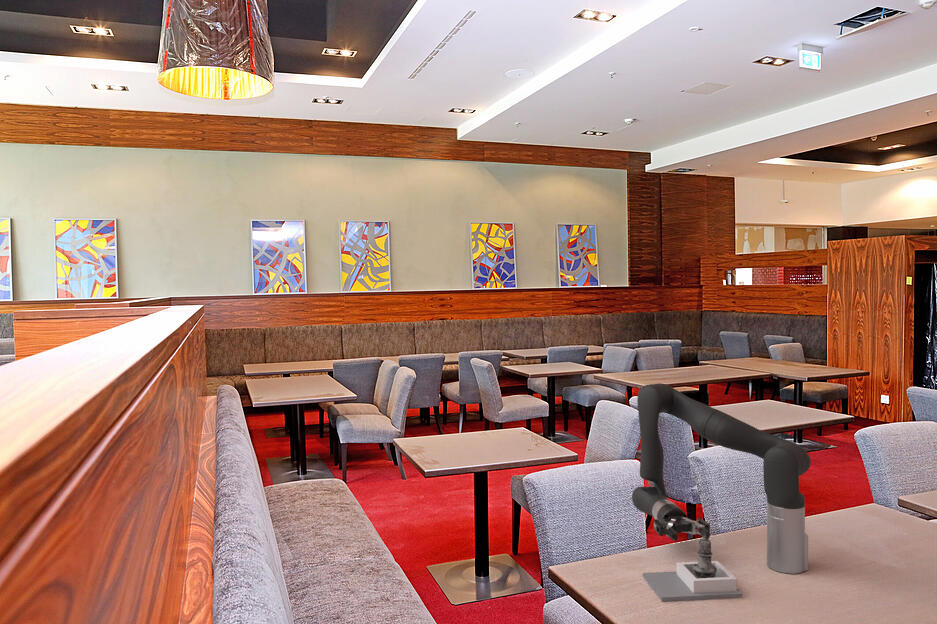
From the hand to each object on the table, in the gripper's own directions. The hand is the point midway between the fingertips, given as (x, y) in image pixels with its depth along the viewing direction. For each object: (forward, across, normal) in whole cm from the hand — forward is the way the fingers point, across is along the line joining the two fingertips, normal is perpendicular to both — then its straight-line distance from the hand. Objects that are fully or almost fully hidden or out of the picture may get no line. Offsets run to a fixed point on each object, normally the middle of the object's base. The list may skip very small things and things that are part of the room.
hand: (692, 536), depth 179 cm
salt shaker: (+8, 0, +9) cm, 12 cm away
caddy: (+9, -4, +9) cm, 13 cm away
